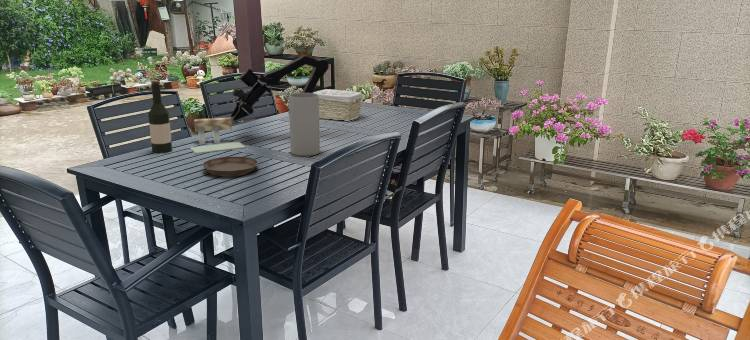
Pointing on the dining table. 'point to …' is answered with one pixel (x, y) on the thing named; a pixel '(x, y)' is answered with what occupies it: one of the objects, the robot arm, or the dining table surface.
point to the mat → (217, 147)
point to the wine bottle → (159, 123)
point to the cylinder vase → (304, 124)
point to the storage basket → (339, 104)
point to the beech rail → (213, 123)
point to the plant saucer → (230, 166)
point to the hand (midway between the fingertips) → (232, 118)
